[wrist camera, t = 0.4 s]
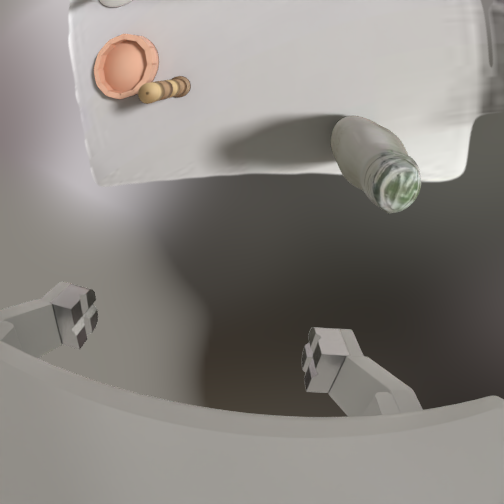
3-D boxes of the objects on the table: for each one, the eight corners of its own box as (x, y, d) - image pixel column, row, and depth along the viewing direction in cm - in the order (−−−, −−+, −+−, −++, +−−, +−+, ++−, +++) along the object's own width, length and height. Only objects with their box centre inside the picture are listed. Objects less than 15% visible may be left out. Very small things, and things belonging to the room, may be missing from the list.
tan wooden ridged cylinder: (181, 72, 47) (148, 74, 35) (195, 87, 49) (165, 93, 37) (165, 86, 49) (130, 93, 37) (179, 101, 50) (146, 112, 39)
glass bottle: (373, 161, 53) (427, 234, 30) (325, 156, 54) (349, 227, 31) (379, 115, 47) (447, 157, 24) (328, 108, 48) (362, 141, 26)
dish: (133, 23, 40) (125, 22, 38) (172, 63, 46) (165, 63, 43) (92, 69, 46) (84, 71, 44) (127, 109, 52) (119, 111, 49)
